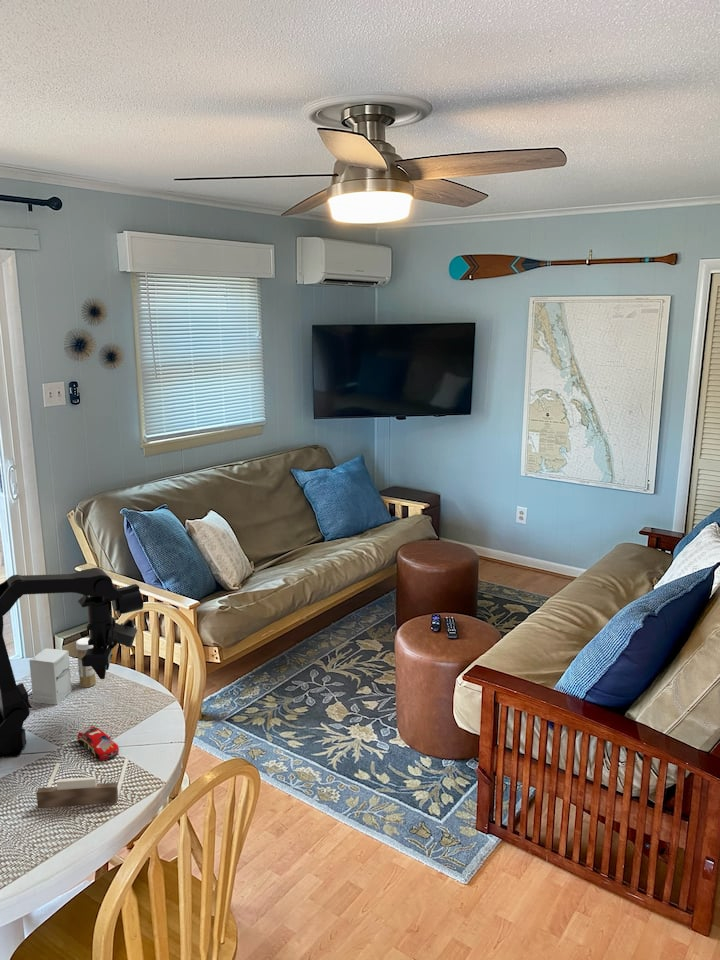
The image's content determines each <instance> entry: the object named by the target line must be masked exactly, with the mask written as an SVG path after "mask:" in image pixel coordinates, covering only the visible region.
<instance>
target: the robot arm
mask: <svg viewBox="0 0 720 960" xmlns="http://www.w3.org/2000/svg"><path fill="white" fill-rule="evenodd" d="M67 593H68V594H69V593H75V594H79V595H83V596H82V597H81V598H79V600H77V602H78V604H79V606H80V607H81V608H87V617H88V618H87V620H88V624H87V625H86V630H87V631H89V637H88V638H89V640H88V645H93V649H87V650H86V651H85V653H84V655H83V657H82V666H84V667H87V666H91V667H92V668H93V669H94V671H95V675H97V677H98V679H100V680H105V679H106V672H107V671H109V669H110V663H111V660H112V657H113V654H112V651H113V649H114V648H116V646H117V645H122V646H125V647H126V648H131V647H132V646H133V643H134V642H135V638H136V635H137V632H138V629H137V626H135V622H134V620H133V619H129V618H128V619H127V620H126V621H125V622H124V623H123V622H121V623H120V624H119V623H117V621H116V618H115V617H114V616H113V612H117V613H118V615H124V614H129V613H133V612H137V611H141V610H143V609H144V599H143V597H142V596H143V595H142V593H141V591H140V585H138V584H137V583H133V584H131V585H126V586H123V587H116V586H115V585H114V583H113V580H112V578H111V577H110V576H109V575H108V574H107V573H106V572H105V571H104V570H103V569H101V568H100V567H92V568H87V569H82V570H78V571H77V572H75V573H64V574H62V573H61V574H59V573H58V574H29V575H28V574H27V575H22V574H21V575H20V574H12V575H11V576H9V577H8V578H7V579H6V580H5V581H4V582H1V583H0V759H1V758H13V757H14V758H17V757H20V756H21V753H22V751H23V750H24V749H25V747H26V745H27V742H28V740H27V736H26V735H27V734H26V729H25V728H24V727H23V724H24V722H25V721H26V720H27V719H28V718H29V716H30V709H31V708H33V707H32V706H33V705H32V704H31V703H30V700H29V693H28V691H27V689H26V687H25V685H24V683H23V682H21V683H19V684H17V682H16V678H15V674H14V671H13V667H12V665H11V661H10V657H9V653H8V649H7V646H6V642H5V639H4V616H5V615H6V614H7V613H8V612H10V611H11V610H12V608H13V607H14V606H15V604H16V602H17V601H18V600H19V599H20V598H21V597H23V596H24V595H39V594H40V595H43V594H44V595H45V594H46V595H47V594H67Z"/></svg>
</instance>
